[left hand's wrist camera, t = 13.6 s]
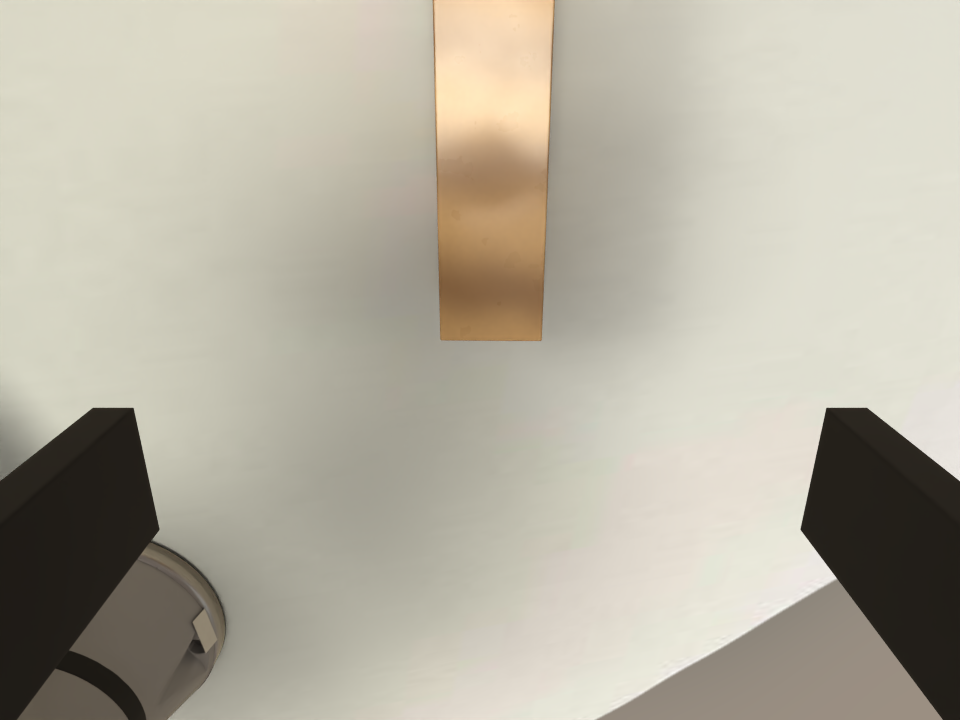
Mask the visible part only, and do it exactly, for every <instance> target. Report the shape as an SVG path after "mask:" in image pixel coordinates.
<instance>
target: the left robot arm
mask: <svg viewBox="0 0 960 720" xmlns="http://www.w3.org/2000/svg"><path fill="white" fill-rule="evenodd" d="M158 531H159V525H158V520H157V516H156V511H155V506H154V502H153V497H152V492H151V488H150V483H149V478H148V474H147V469H146V464H145V459H144V455H143V450H142V445H141V441H140V436H139V431H138V427H137V422H136V417H135V413H134V408H92V409H91V410H90V411H88V412H87V413H86V414H85V415H83V416H82V417H81V418H80V419H78V420H77V421H76V422H75V423H73V424H72V425H71V426H70V427H68V428H67V429H66V430H64V431H63V432H62V433H61V434H59V435H58V436H57V437H56V438H54V439H53V440H52V441H51V442H49V443H48V444H47V445H45V446H44V447H43V448H42V449H40V450H39V451H38V452H37V453H35V454H34V455H33V456H32V457H30V458H29V459H28V460H26V461H25V462H24V463H23V464H21V465H20V466H19V467H18V468H16V469H15V470H14V471H13V472H11V473H10V474H9V475H8V476H6V477H5V478H4V479H2V480H1V481H0V720H167V719H168V718H169V717H170V716H171V715H172V714H173V713H174V712H175V711H176V710H177V709H178V708H179V707H180V706H181V705H182V704H183V703H184V702H185V701H186V700H187V699H188V698H189V697H190V696H191V695H192V694H193V693H194V692H195V691H196V690H197V689H199V688H200V686H201V685H202V684H203V683H204V682H205V680H206V679H207V678H208V676H209V674H210V672H211V670H212V668H213V666H214V664H215V662H216V660H217V658H218V656H219V654H220V651H221V649H222V646H223V642H224V638H225V621H224V615H223V612H222V608H221V606H220V603H219V601H218V599H217V597H216V595H215V593H214V591H213V590H212V589H211V587H210V586H209V584H208V583H207V582H206V581H205V579H204V578H203V577H202V576H201V575H200V574H199V573H198V572H197V571H196V570H195V569H194V568H193V567H192V566H190V565H189V564H188V563H187V562H185V561H184V560H182V559H181V558H180V557H178V556H177V555H175V554H173V553H172V552H170V551H168V550H166V549H164V548H162V547H160V546H158V545H155V544H153V543H150V542H151V540H152V539H153V538H154V536H155V535H156V534H157V532H158ZM801 531H802V532H803V534H804V535H805V536H806V538H807V539H808V540H809V542H810V543H811V544H812V546H813V547H814V548H815V550H816V551H817V552H818V554H819V555H820V556H821V558H822V559H823V560H824V562H825V563H826V564H827V566H828V567H829V568H830V570H831V571H832V572H833V574H834V575H835V576H836V578H837V579H838V580H839V582H840V583H841V584H842V586H843V587H844V588H845V590H846V591H847V592H848V594H849V595H850V596H851V597H852V599H853V600H854V602H855V603H856V604H857V606H858V607H859V608H860V610H861V611H862V612H863V614H864V615H865V616H866V618H867V619H868V620H869V622H870V623H871V624H872V626H873V627H874V628H875V630H876V631H877V632H878V634H879V635H880V636H881V638H882V639H883V640H884V642H885V643H886V644H887V646H888V647H889V648H890V650H891V651H892V652H893V654H894V655H895V656H896V658H897V659H898V660H899V662H900V663H901V664H902V666H903V667H904V668H905V670H906V671H907V672H908V674H909V675H910V676H911V678H912V679H913V680H914V682H915V683H916V684H917V686H918V687H919V688H920V690H921V691H922V692H923V694H924V695H925V696H926V698H927V699H928V700H929V702H930V703H931V704H932V706H933V707H934V708H935V710H936V711H937V712H938V714H939V715H940V716H941V718H942V719H943V720H960V481H959V480H958V479H956V478H955V477H954V476H952V475H951V474H950V473H949V472H947V471H946V470H945V469H944V468H942V467H941V466H940V465H939V464H937V463H936V462H935V461H934V460H932V459H931V458H930V457H928V456H927V455H926V454H925V453H923V452H922V451H921V450H920V449H918V448H917V447H916V446H915V445H913V444H912V443H911V442H909V441H908V440H907V439H906V438H904V437H903V436H902V435H901V434H899V433H898V432H897V431H896V430H894V429H893V428H892V427H890V426H889V425H888V424H887V423H885V422H884V421H883V420H882V419H880V418H879V417H878V416H877V415H875V414H874V413H873V412H872V411H870V410H869V409H868V408H826V413H825V417H824V422H823V427H822V431H821V436H820V441H819V445H818V450H817V455H816V459H815V464H814V469H813V474H812V478H811V483H810V488H809V492H808V497H807V502H806V506H805V511H804V516H803V520H802V525H801Z"/></svg>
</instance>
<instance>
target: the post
mask: <svg viewBox="0 0 960 720" xmlns="http://www.w3.org/2000/svg"><path fill="white" fill-rule="evenodd" d="M554 7H555V0H433V29H434V74H435V119H436V165H437V210H438V255H439V300H440V339H441V340H475V341H541V340H542V318H543V292H544V266H545V240H546V214H547V188H548V162H549V136H550V110H551V84H552V59H553V33H554Z"/></svg>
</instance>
